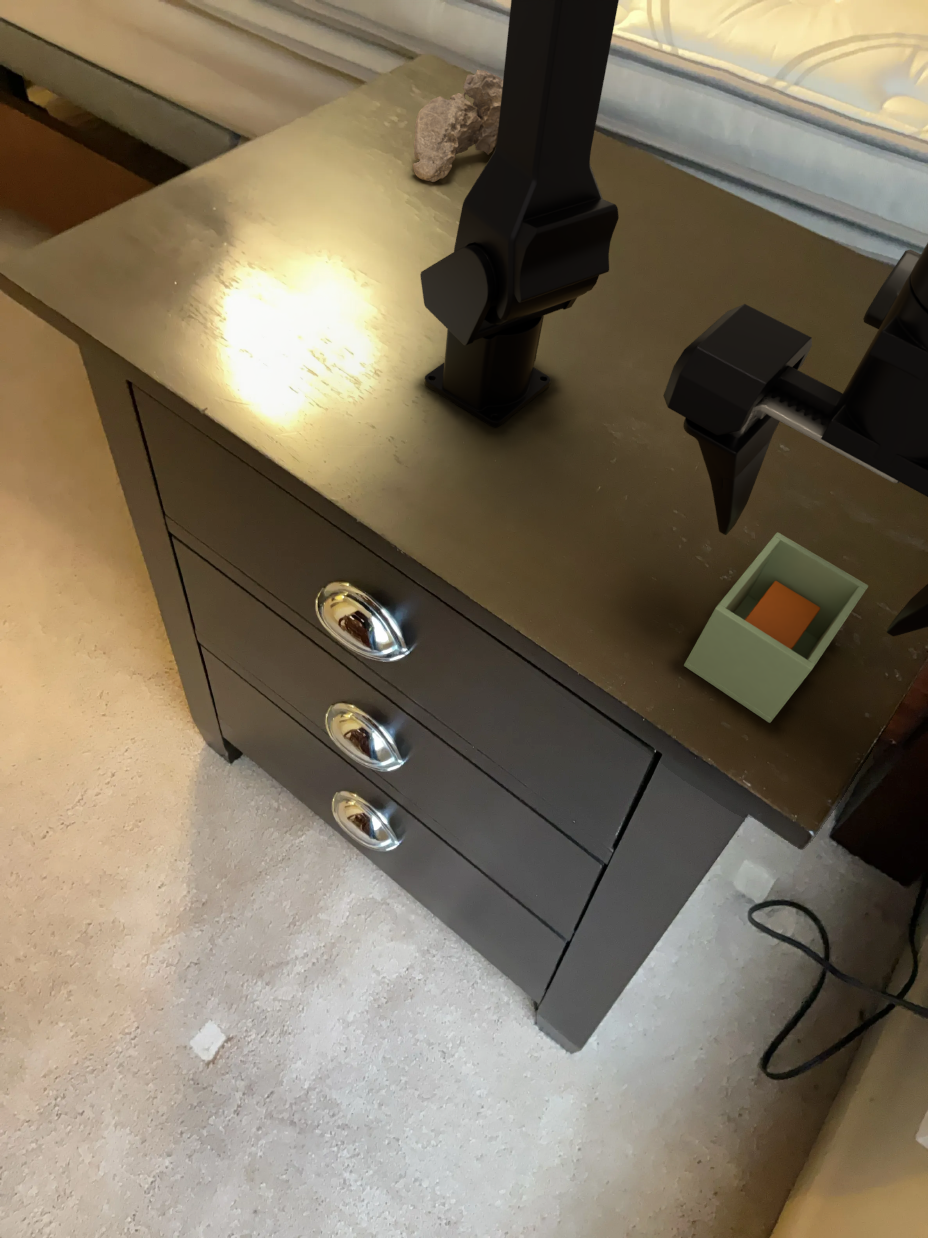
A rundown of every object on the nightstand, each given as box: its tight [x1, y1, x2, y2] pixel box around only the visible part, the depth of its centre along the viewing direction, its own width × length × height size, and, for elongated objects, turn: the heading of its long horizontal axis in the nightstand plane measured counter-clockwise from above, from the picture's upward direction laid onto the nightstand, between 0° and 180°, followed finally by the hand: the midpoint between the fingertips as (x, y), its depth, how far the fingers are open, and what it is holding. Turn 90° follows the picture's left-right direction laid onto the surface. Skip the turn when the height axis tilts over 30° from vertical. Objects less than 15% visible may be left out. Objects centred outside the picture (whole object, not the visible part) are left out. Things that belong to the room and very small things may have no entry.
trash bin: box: [683, 532, 869, 724], centre depth 46 cm, size 7×5×5 cm
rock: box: [412, 69, 503, 183], centre depth 75 cm, size 6×14×7 cm, turn 113°
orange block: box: [745, 581, 820, 650], centre depth 47 cm, size 4×3×3 cm, turn 141°
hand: (807, 577), depth 43 cm, fingers open, 9 cm apart
